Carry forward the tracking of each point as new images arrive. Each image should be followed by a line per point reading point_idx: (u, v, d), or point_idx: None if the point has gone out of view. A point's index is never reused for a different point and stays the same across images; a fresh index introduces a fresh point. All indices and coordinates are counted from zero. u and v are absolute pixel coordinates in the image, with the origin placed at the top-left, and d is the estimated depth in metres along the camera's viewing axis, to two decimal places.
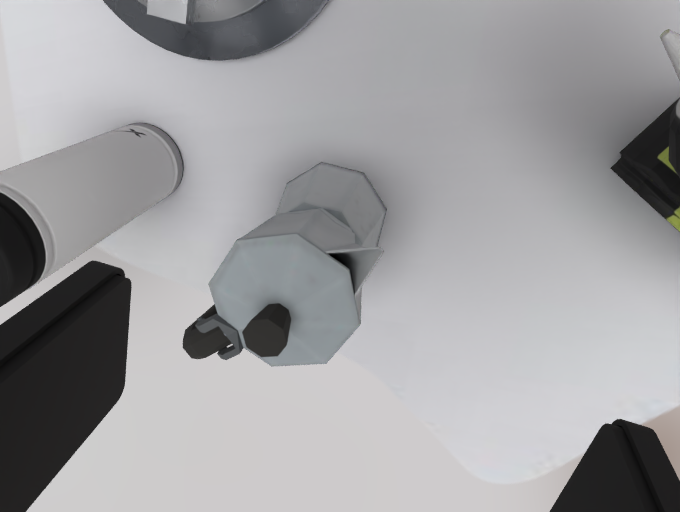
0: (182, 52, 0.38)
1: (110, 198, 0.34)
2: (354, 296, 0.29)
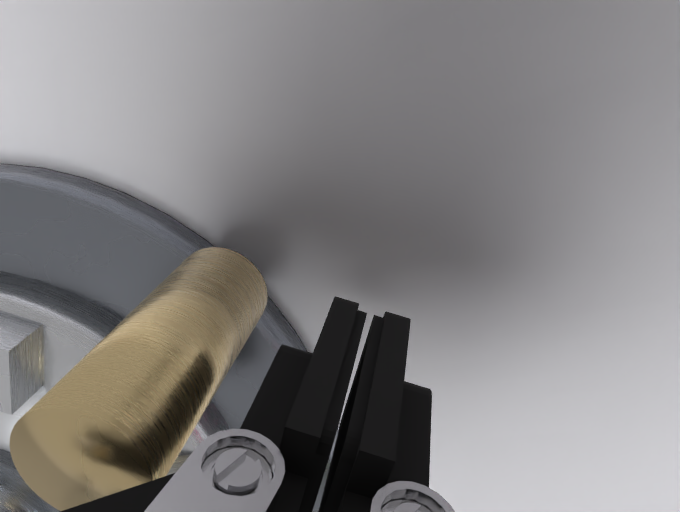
0: None
1: None
2: None
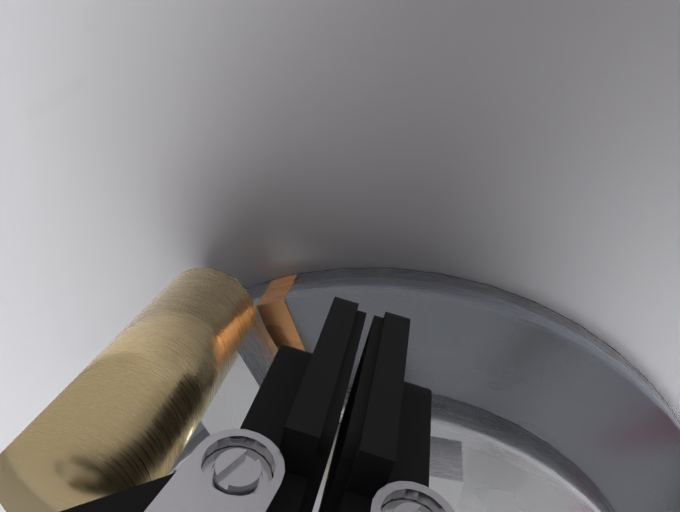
0: None
1: None
2: None
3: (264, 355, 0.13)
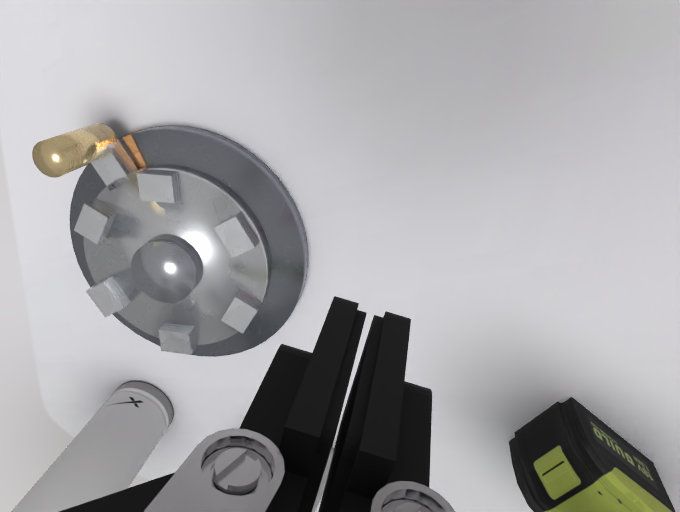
0: None
1: (115, 490, 0.44)
2: None
3: (119, 152, 0.40)
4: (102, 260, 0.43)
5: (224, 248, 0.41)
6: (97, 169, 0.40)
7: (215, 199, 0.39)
